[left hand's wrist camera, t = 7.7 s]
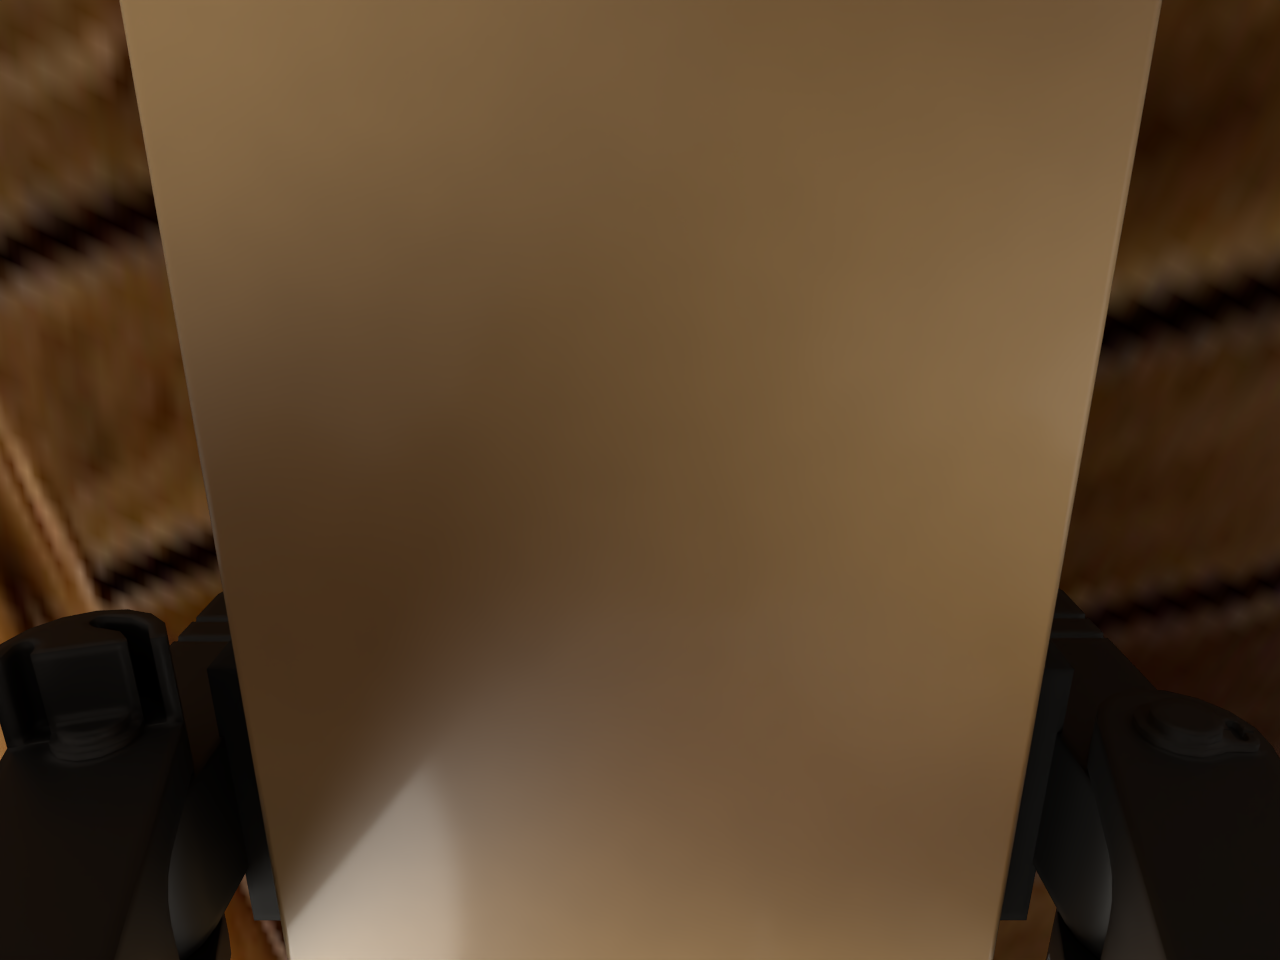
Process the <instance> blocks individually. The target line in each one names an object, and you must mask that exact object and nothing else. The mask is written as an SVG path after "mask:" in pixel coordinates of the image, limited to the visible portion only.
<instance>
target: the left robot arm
mask: <svg viewBox="0 0 1280 960" xmlns="http://www.w3.org/2000/svg"><path fill="white" fill-rule="evenodd" d="M0 724H1V728H2V731H3V735H4V738H5V742H6V745H7V750H6V752H5V753H4V755H3V757H2V759H1V760H0V960H230V958H231V949H230V941H229V933H228V929H227V924H226V919H225V914H224V912H225V910H226V908H227V906H228V904H229V903H230V901H231V899H232V897H233V895H234V893H235V891H236V890H237V888H238V886H239V884H240V882H241V880H242V879H243V877H244V875H245V873H246V879H247V884H248V889H249V894H250V900H251V905H252V910H253V915H254V920H281V919H280V913H279V907H278V901H277V896H276V890H275V884H274V879H273V873H272V867H271V862H270V856H269V850H268V844H267V839H266V833H265V827H264V822H263V816H262V810H261V804H260V799H259V793H258V787H257V782H256V776H255V770H254V765H253V759H252V753H251V747H250V742H249V736H248V730H247V725H246V719H245V713H244V707H243V702H242V696H241V690H240V685H239V679H238V673H237V668H236V662H235V656H234V650H233V645H232V639H231V633H230V628H229V622H228V616H227V611H226V605H225V599H224V593H223V592H221V593H220V594H218V595H217V596H216V597H215V598H214V599H213V600H212V601H211V602H210V604H209V605H208V606H207V607H206V608H205V609H204V610H203V611H202V612H201V613H200V614H199V615H198V616H197V620H196V622H192V623H191V624H190V625H189V626H188V627H187V628H186V629H185V630H184V631H183V632H182V633H181V634H180V635H179V636H178V642H173V643H172V644H171V645H169V640H168V636H167V631H166V626H165V623H164V622H163V621H161V620H160V619H158V618H157V617H156V616H154V615H153V614H151V613H145V612H139V611H134V610H128V609H127V610H104V611H93V612H88V613H83V614H78V615H73V616H68V617H63V618H60V619H57V620H54V621H51V622H48V623H45V624H42V625H39V626H36V627H33V628H31V629H28V630H26V631H24V632H22V633H21V634H19V635H17V636H15V637H13V638H11V639H9V640H7V641H6V642H4V643H2V644H0ZM1036 871H1037V872H1038V874H1039V876H1040V878H1041V880H1042V882H1043V883H1044V885H1045V887H1046V889H1047V891H1048V893H1049V894H1050V896H1051V898H1052V900H1053V902H1054V904H1055V905H1056V907H1057V909H1056V914H1055V919H1054V924H1053V929H1052V933H1051V938H1050V943H1049V948H1048V953H1047V958H1046V960H1280V759H1279V757H1278V755H1277V753H1276V752H1275V750H1274V748H1273V747H1272V746H1271V744H1270V743H1269V742H1268V741H1267V740H1266V739H1265V738H1264V737H1263V736H1262V734H1261V733H1260V732H1259V731H1258V730H1257V729H1256V728H1255V727H1253V726H1252V725H1250V724H1248V723H1247V722H1245V721H1244V720H1242V719H1241V718H1239V717H1237V716H1236V715H1234V714H1233V713H1231V712H1230V711H1227V710H1225V709H1222V708H1220V707H1218V706H1215V705H1213V704H1210V703H1208V702H1205V701H1203V700H1200V699H1198V698H1194V697H1190V696H1185V695H1181V694H1177V693H1172V692H1168V691H1161V690H1157V689H1156V688H1155V687H1154V686H1153V685H1152V684H1151V683H1150V682H1149V681H1148V680H1147V679H1146V678H1145V677H1144V676H1143V675H1142V674H1141V673H1140V671H1139V670H1138V669H1137V668H1136V667H1135V666H1134V665H1133V664H1132V663H1131V662H1130V661H1129V660H1128V659H1127V658H1126V657H1125V656H1124V655H1123V654H1122V653H1121V651H1120V650H1119V649H1118V648H1117V647H1116V646H1115V645H1114V644H1113V643H1112V642H1111V641H1110V640H1109V639H1108V638H1103V633H1102V631H1101V630H1100V629H1099V628H1098V627H1097V626H1096V625H1095V624H1094V623H1093V622H1092V621H1091V620H1090V619H1085V614H1084V613H1083V611H1082V610H1081V609H1080V608H1079V607H1078V606H1077V605H1076V604H1075V603H1074V602H1073V601H1072V600H1071V599H1070V598H1069V597H1068V596H1067V595H1066V594H1065V593H1064V591H1062V590H1060V589H1058V593H1057V599H1056V605H1055V610H1054V616H1053V622H1052V627H1051V633H1050V639H1049V644H1048V650H1047V656H1046V661H1045V667H1044V673H1043V679H1042V684H1041V690H1040V696H1039V701H1038V707H1037V713H1036V718H1035V724H1034V730H1033V735H1032V741H1031V747H1030V752H1029V758H1028V764H1027V769H1026V775H1025V781H1024V786H1023V792H1022V798H1021V803H1020V809H1019V815H1018V820H1017V826H1016V832H1015V837H1014V843H1013V849H1012V854H1011V860H1010V866H1009V871H1008V877H1007V883H1006V888H1005V894H1004V900H1003V905H1002V911H1001V917H1000V920H1026V919H1027V914H1028V909H1029V903H1030V898H1031V893H1032V888H1033V882H1034V877H1035V872H1036Z"/></svg>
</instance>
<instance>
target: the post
mask: <svg viewBox="0 0 1280 960" xmlns="http://www.w3.org/2000/svg"><path fill="white" fill-rule="evenodd" d="M1161 4H1162V0H120V6H121V11H122V17H123V23H124V29H125V34H126V40H127V46H128V51H129V57H130V63H131V68H132V74H133V80H134V86H135V91H136V97H137V103H138V108H139V114H140V120H141V126H142V131H143V137H144V143H145V148H146V154H147V160H148V165H149V171H150V177H151V183H152V188H153V194H154V200H155V205H156V211H157V217H158V223H159V228H160V234H161V240H162V245H163V251H164V257H165V262H166V268H167V274H168V280H169V285H170V291H171V297H172V302H173V308H174V314H175V320H176V325H177V331H178V337H179V342H180V348H181V354H182V359H183V365H184V371H185V377H186V382H187V388H188V394H189V399H190V405H191V411H192V417H193V422H194V428H195V434H196V439H197V445H198V451H199V456H200V462H201V468H202V474H203V479H204V485H205V491H206V496H207V502H208V508H209V514H210V519H211V525H212V531H213V536H214V542H215V548H216V553H217V559H218V565H219V571H220V576H221V582H222V588H223V593H224V599H225V605H226V611H227V616H228V622H229V628H230V633H231V639H232V645H233V650H234V656H235V662H236V668H237V673H238V679H239V685H240V690H241V696H242V702H243V707H244V713H245V719H246V725H247V730H248V736H249V742H250V747H251V753H252V759H253V765H254V770H255V776H256V782H257V787H258V793H259V799H260V804H261V810H262V816H263V822H264V827H265V833H266V839H267V844H268V850H269V856H270V862H271V867H272V873H273V879H274V884H275V890H276V896H277V901H278V907H279V913H280V919H281V924H282V930H283V936H284V941H285V947H286V953H287V959H288V960H993V956H994V951H995V945H996V939H997V934H998V928H999V922H1000V917H1001V911H1002V905H1003V900H1004V894H1005V888H1006V883H1007V877H1008V871H1009V866H1010V860H1011V854H1012V849H1013V843H1014V837H1015V832H1016V826H1017V820H1018V815H1019V809H1020V803H1021V798H1022V792H1023V786H1024V781H1025V775H1026V769H1027V764H1028V758H1029V752H1030V747H1031V741H1032V735H1033V730H1034V724H1035V718H1036V713H1037V707H1038V701H1039V696H1040V690H1041V684H1042V679H1043V673H1044V667H1045V661H1046V656H1047V650H1048V644H1049V639H1050V633H1051V627H1052V622H1053V616H1054V610H1055V605H1056V599H1057V593H1058V588H1059V582H1060V576H1061V571H1062V565H1063V559H1064V554H1065V548H1066V542H1067V537H1068V531H1069V525H1070V520H1071V514H1072V508H1073V503H1074V497H1075V491H1076V486H1077V480H1078V474H1079V469H1080V463H1081V457H1082V452H1083V446H1084V440H1085V435H1086V429H1087V423H1088V418H1089V412H1090V406H1091V401H1092V395H1093V389H1094V384H1095V378H1096V372H1097V367H1098V361H1099V355H1100V350H1101V344H1102V338H1103V333H1104V327H1105V321H1106V316H1107V310H1108V304H1109V299H1110V293H1111V287H1112V282H1113V276H1114V270H1115V265H1116V259H1117V253H1118V248H1119V242H1120V236H1121V231H1122V225H1123V219H1124V214H1125V208H1126V202H1127V197H1128V191H1129V185H1130V179H1131V174H1132V168H1133V162H1134V157H1135V151H1136V145H1137V140H1138V134H1139V128H1140V123H1141V117H1142V111H1143V106H1144V100H1145V94H1146V89H1147V83H1148V77H1149V72H1150V66H1151V60H1152V55H1153V49H1154V43H1155V38H1156V32H1157V26H1158V21H1159V15H1160V9H1161Z"/></svg>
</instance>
